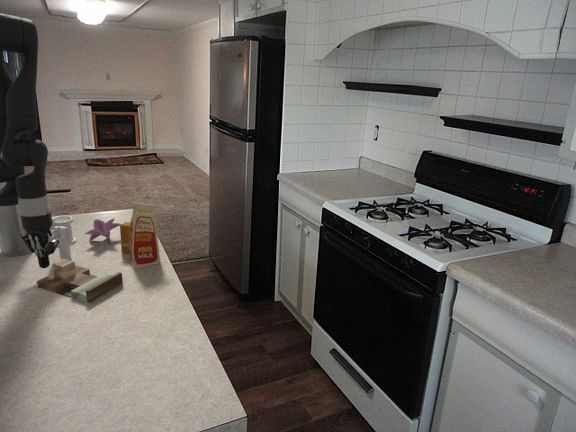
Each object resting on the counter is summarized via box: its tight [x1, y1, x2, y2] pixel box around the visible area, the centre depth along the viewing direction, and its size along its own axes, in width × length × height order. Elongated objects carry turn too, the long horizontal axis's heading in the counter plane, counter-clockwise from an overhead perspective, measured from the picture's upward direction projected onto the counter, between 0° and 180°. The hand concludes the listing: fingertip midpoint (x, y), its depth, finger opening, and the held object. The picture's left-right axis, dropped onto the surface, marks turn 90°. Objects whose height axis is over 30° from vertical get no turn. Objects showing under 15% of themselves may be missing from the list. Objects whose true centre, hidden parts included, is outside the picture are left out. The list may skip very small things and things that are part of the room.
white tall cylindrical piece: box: [50, 215, 77, 261], centre depth 135 cm, size 7×7×15 cm
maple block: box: [51, 259, 76, 280], centre depth 122 cm, size 4×4×4 cm
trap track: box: [36, 265, 124, 304], centre depth 121 cm, size 20×12×4 cm, turn 67°
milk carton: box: [129, 202, 161, 269], centre depth 136 cm, size 9×9×20 cm
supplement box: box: [119, 221, 131, 254], centre depth 144 cm, size 3×3×10 cm
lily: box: [84, 217, 122, 246], centre depth 151 cm, size 12×12×10 cm
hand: (44, 267), depth 125 cm, fingers closed
